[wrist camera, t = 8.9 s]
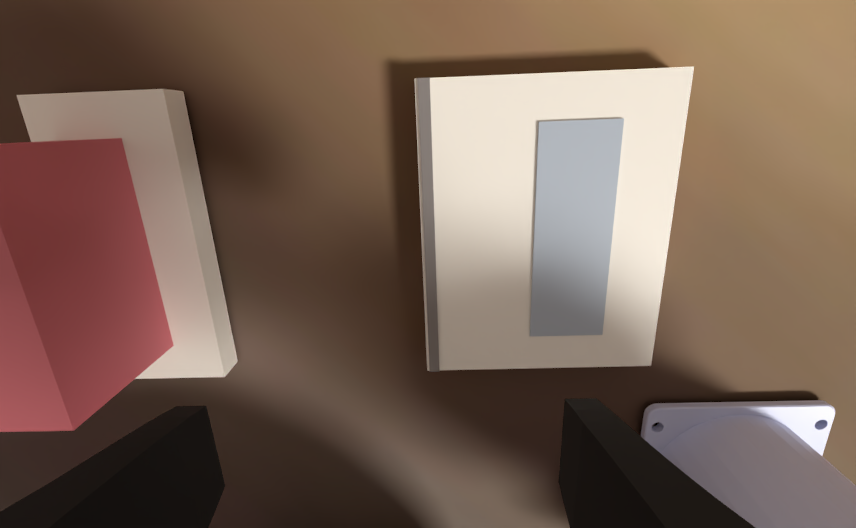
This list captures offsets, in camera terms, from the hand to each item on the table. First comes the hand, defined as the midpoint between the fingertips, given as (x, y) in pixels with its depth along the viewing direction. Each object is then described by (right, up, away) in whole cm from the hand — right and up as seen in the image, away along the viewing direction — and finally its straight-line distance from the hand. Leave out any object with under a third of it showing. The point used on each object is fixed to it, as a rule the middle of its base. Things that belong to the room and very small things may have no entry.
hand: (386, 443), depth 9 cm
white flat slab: (+5, +5, +8) cm, 11 cm away
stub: (-10, +5, +8) cm, 14 cm away
